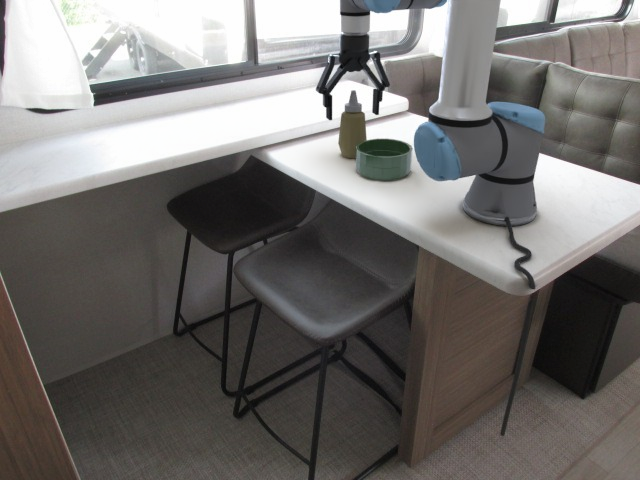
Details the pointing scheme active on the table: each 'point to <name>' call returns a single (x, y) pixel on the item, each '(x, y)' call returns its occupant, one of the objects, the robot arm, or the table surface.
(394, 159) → the bowl
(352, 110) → the squeeze bottle
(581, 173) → the table surface
